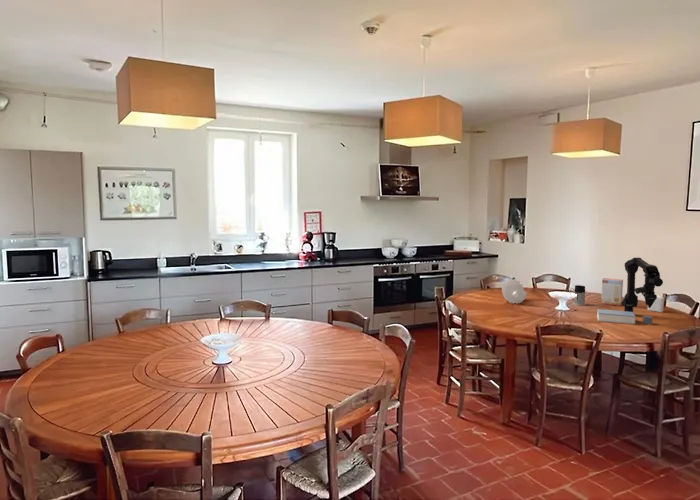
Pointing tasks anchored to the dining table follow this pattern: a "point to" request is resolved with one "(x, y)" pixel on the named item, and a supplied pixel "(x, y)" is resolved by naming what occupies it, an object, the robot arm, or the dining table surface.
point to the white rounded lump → (513, 291)
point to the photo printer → (657, 304)
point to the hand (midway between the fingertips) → (648, 306)
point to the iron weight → (647, 320)
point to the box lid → (616, 313)
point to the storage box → (615, 319)
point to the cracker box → (612, 291)
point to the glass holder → (579, 295)
